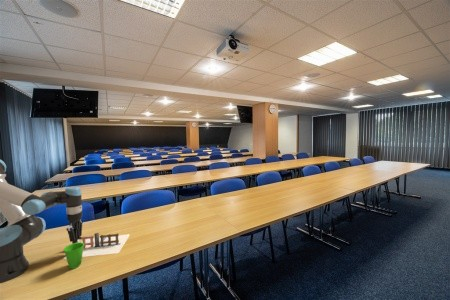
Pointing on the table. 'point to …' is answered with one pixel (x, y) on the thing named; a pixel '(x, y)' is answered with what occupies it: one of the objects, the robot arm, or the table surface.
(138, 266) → the table surface
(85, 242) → the fence swing
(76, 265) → the cup
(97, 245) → the fence fixed
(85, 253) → the card
